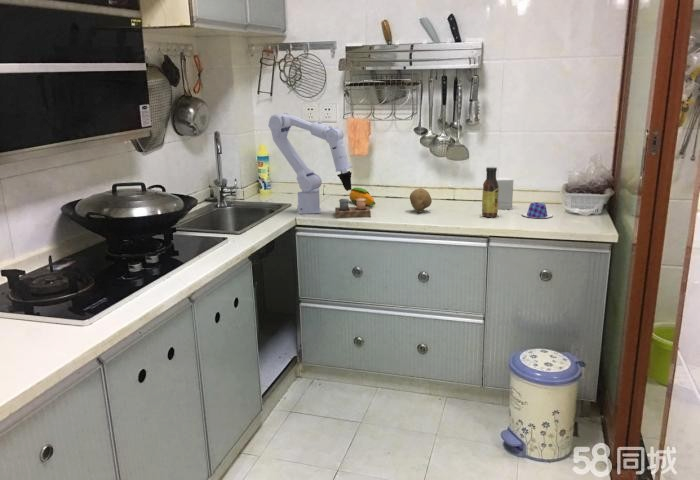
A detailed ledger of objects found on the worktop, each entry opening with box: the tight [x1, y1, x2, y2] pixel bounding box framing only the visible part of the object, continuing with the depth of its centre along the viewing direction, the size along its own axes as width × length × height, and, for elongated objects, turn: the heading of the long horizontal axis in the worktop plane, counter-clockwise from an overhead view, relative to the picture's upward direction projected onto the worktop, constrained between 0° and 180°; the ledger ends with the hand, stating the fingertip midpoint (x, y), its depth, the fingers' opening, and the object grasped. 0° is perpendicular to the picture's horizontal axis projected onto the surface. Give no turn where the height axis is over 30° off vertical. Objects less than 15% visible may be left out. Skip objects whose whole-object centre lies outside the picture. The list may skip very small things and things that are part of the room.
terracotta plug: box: [356, 198, 366, 210], centre depth 244 cm, size 4×4×4 cm
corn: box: [349, 187, 376, 206], centre depth 264 cm, size 7×8×20 cm
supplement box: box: [496, 176, 514, 210], centre depth 253 cm, size 7×7×13 cm
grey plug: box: [338, 198, 350, 210], centre depth 244 cm, size 4×4×4 cm
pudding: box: [521, 202, 553, 219], centre depth 238 cm, size 12×12×5 cm
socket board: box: [334, 205, 372, 219], centre depth 245 cm, size 14×9×2 cm, turn 94°
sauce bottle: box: [481, 166, 499, 218], centre depth 237 cm, size 6×6×20 cm
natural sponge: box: [409, 187, 433, 213], centre depth 248 cm, size 9×9×10 cm
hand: (348, 189), depth 243 cm, fingers open, 7 cm apart
